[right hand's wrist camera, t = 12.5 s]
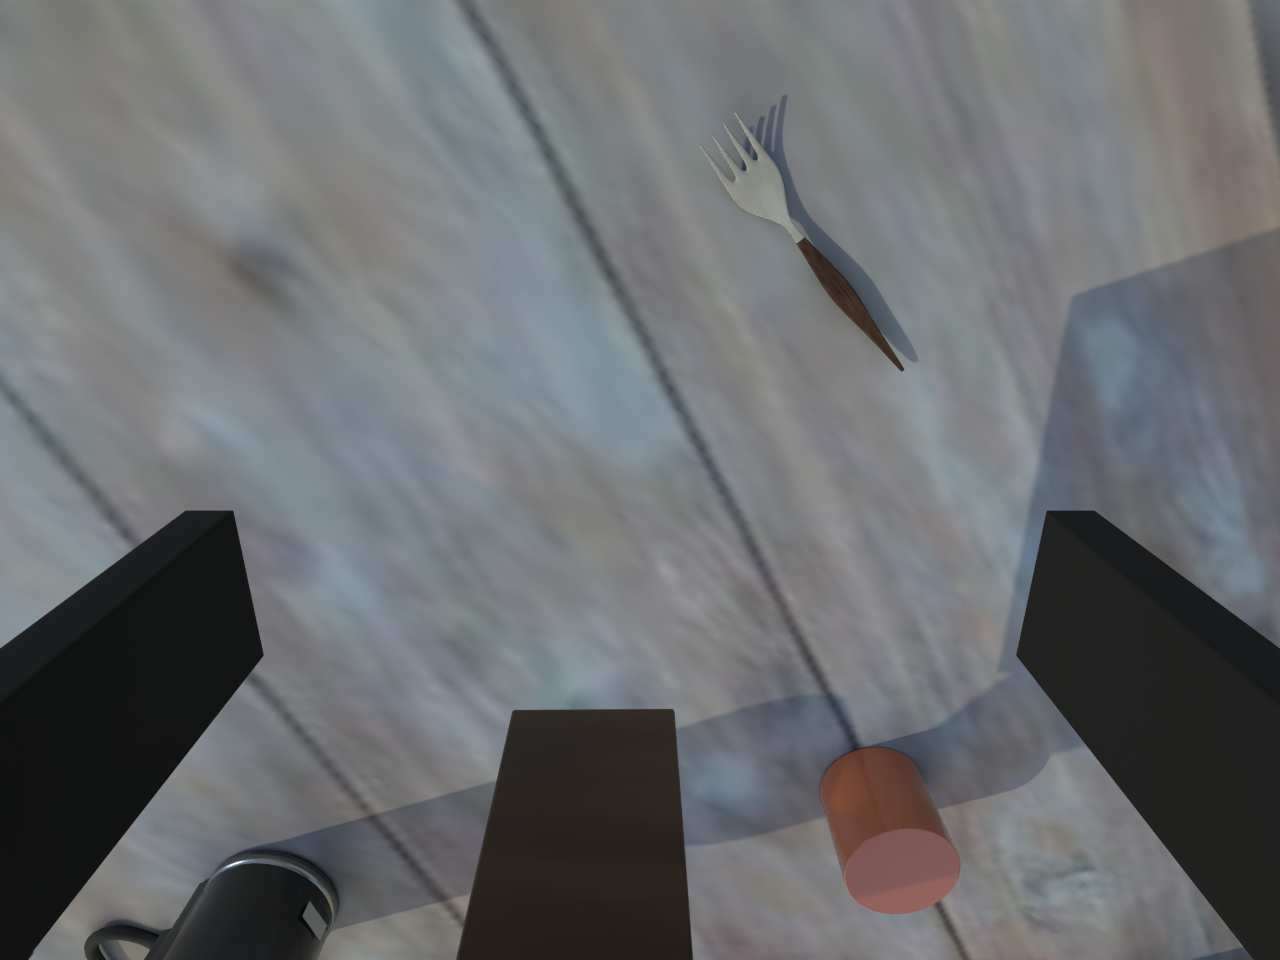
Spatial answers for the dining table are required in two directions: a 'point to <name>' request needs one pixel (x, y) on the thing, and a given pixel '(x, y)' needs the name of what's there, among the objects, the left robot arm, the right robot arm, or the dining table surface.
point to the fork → (791, 227)
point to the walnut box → (583, 842)
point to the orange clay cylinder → (887, 832)
